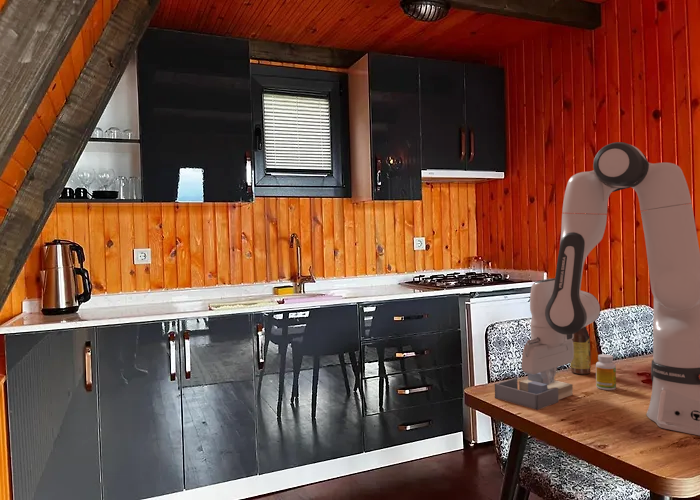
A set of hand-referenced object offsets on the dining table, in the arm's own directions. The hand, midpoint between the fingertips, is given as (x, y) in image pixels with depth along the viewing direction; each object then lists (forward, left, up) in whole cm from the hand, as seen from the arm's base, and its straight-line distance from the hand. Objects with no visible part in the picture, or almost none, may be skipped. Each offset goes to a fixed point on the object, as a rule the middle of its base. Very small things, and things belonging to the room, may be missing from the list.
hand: (548, 383), depth 153 cm
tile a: (+1, +3, -1) cm, 4 cm away
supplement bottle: (-6, -21, -4) cm, 22 cm away
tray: (+3, +6, -4) cm, 8 cm away
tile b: (+6, -5, -1) cm, 8 cm away
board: (+3, -3, -4) cm, 6 cm away
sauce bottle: (+8, -31, -4) cm, 32 cm away
